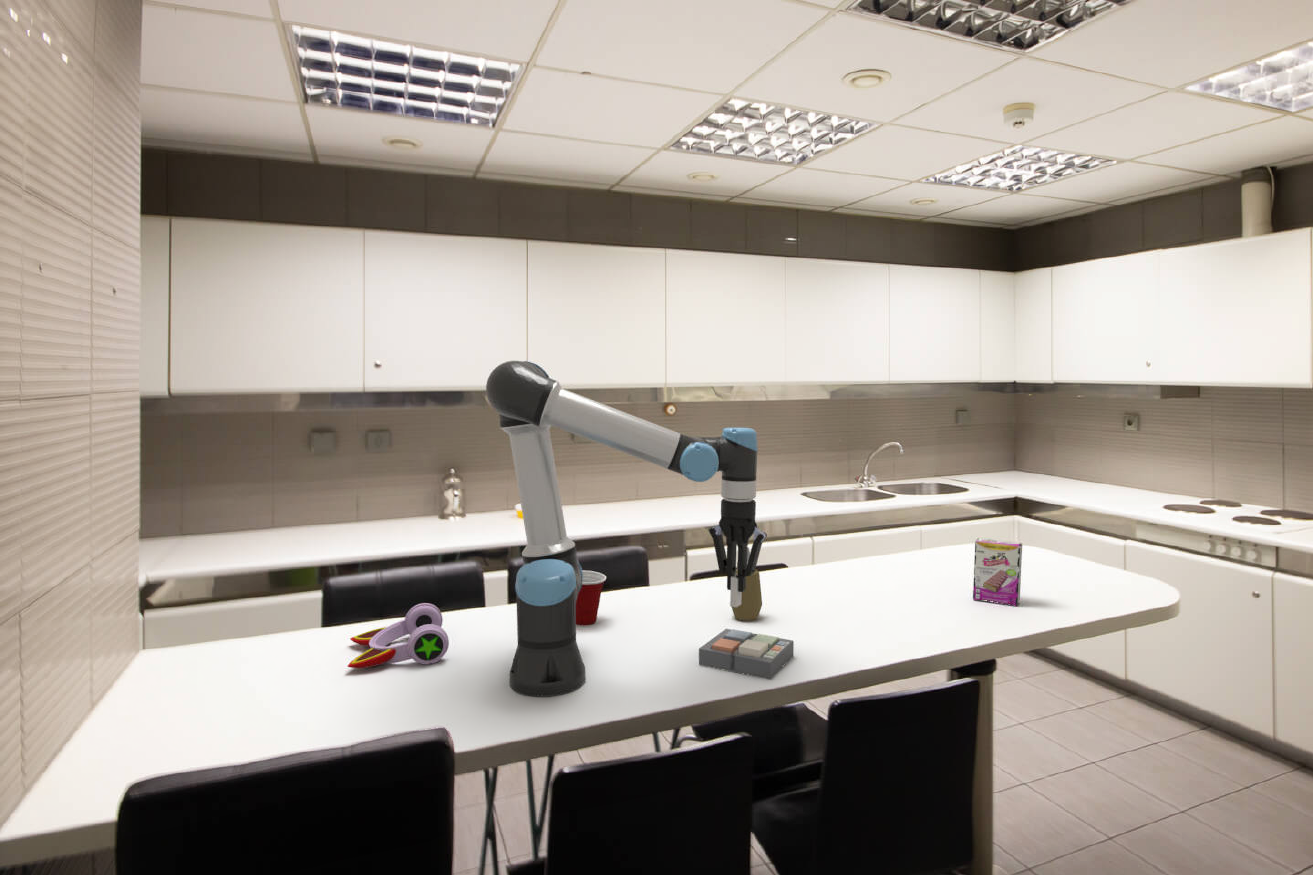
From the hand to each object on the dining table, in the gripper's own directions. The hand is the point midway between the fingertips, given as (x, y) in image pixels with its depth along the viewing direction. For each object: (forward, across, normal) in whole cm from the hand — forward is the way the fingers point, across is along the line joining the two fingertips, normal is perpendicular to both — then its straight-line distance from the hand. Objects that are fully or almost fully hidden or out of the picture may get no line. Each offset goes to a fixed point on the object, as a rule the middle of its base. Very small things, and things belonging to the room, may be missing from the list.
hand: (735, 605), depth 161 cm
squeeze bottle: (+11, +7, -23) cm, 27 cm away
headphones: (+13, +66, +36) cm, 76 cm away
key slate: (+10, -1, 0) cm, 10 cm away
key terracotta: (+10, -1, +6) cm, 11 cm away
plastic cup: (+12, +41, -1) cm, 43 cm away
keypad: (+11, -4, +3) cm, 12 cm away
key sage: (+9, -7, 0) cm, 12 cm away
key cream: (+9, -7, +6) cm, 13 cm away
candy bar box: (+9, -47, -67) cm, 83 cm away
